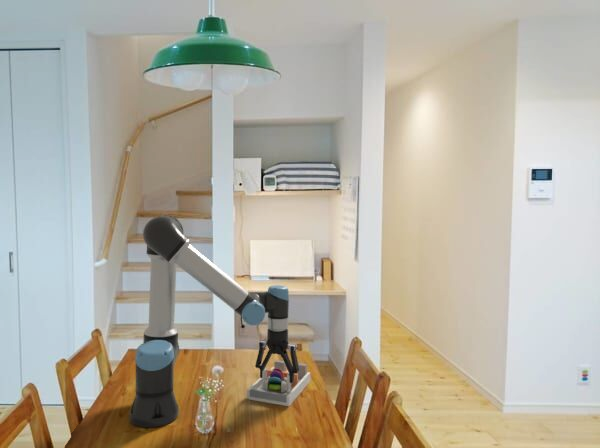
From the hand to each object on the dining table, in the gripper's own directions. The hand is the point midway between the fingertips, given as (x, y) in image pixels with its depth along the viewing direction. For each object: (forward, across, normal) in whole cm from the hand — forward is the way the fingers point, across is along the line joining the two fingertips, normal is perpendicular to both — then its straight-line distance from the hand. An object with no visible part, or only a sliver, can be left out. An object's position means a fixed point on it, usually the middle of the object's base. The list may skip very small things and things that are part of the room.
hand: (276, 388), depth 169 cm
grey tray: (+2, 0, -4) cm, 4 cm away
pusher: (0, 0, -10) cm, 10 cm away
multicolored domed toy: (0, 0, 0) cm, 1 cm away
